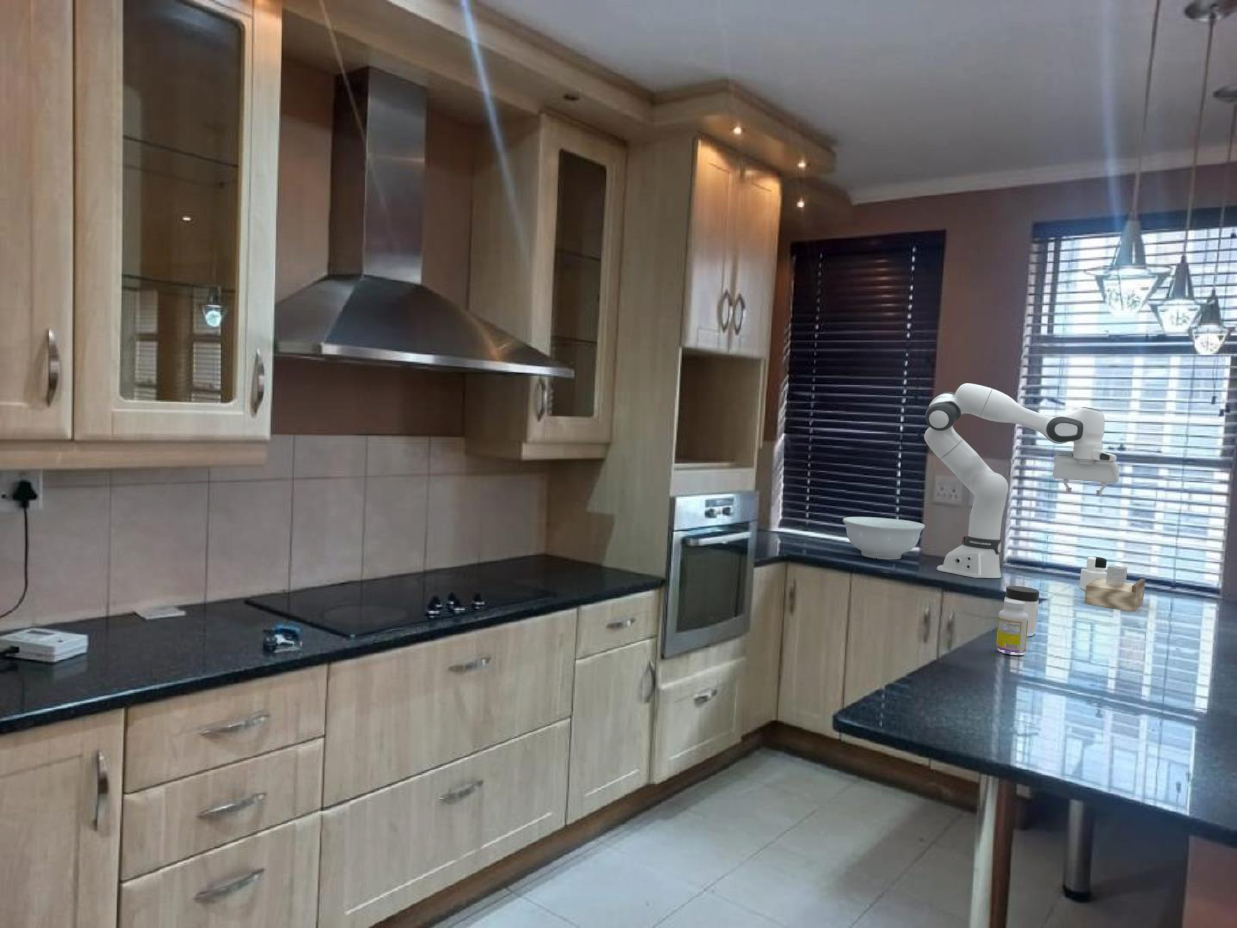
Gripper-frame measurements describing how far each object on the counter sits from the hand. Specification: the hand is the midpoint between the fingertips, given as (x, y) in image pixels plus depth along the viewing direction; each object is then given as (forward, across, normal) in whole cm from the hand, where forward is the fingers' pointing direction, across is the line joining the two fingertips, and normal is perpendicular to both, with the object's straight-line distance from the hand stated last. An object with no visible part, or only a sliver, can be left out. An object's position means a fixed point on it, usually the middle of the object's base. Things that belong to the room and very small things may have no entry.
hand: (1083, 494), depth 297 cm
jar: (+34, +2, -85) cm, 92 cm away
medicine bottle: (+34, +5, +7) cm, 35 cm away
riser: (+34, +14, -12) cm, 39 cm away
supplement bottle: (+34, +6, -110) cm, 115 cm away
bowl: (+34, -73, +8) cm, 81 cm away
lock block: (+28, +14, -12) cm, 34 cm away
